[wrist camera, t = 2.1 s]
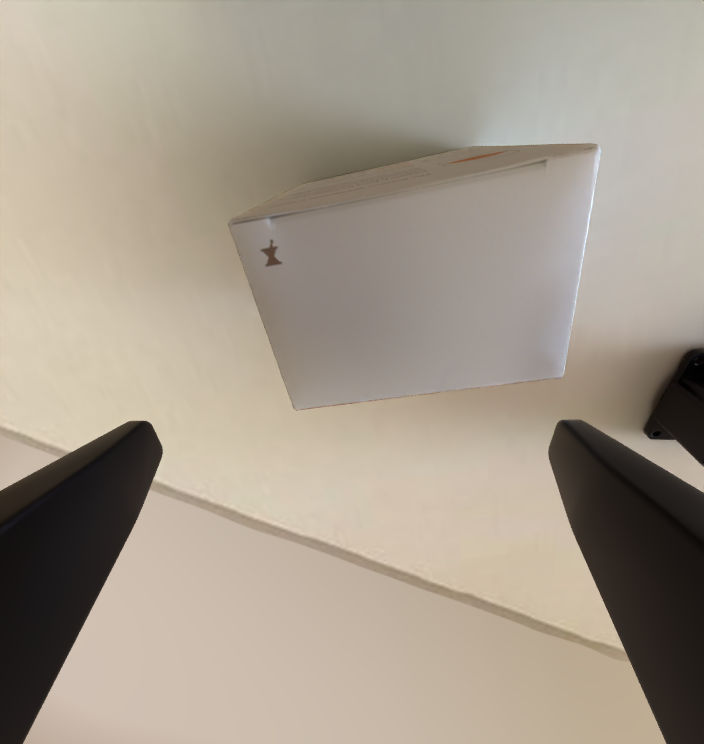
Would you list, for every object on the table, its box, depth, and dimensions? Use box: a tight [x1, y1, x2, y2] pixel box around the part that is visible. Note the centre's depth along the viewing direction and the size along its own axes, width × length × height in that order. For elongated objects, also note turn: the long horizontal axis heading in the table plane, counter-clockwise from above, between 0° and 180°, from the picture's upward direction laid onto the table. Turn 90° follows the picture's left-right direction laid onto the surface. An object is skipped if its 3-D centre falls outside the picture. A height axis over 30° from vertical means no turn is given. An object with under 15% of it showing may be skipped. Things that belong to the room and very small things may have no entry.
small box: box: [228, 144, 601, 411], centre depth 13 cm, size 8×6×10 cm
